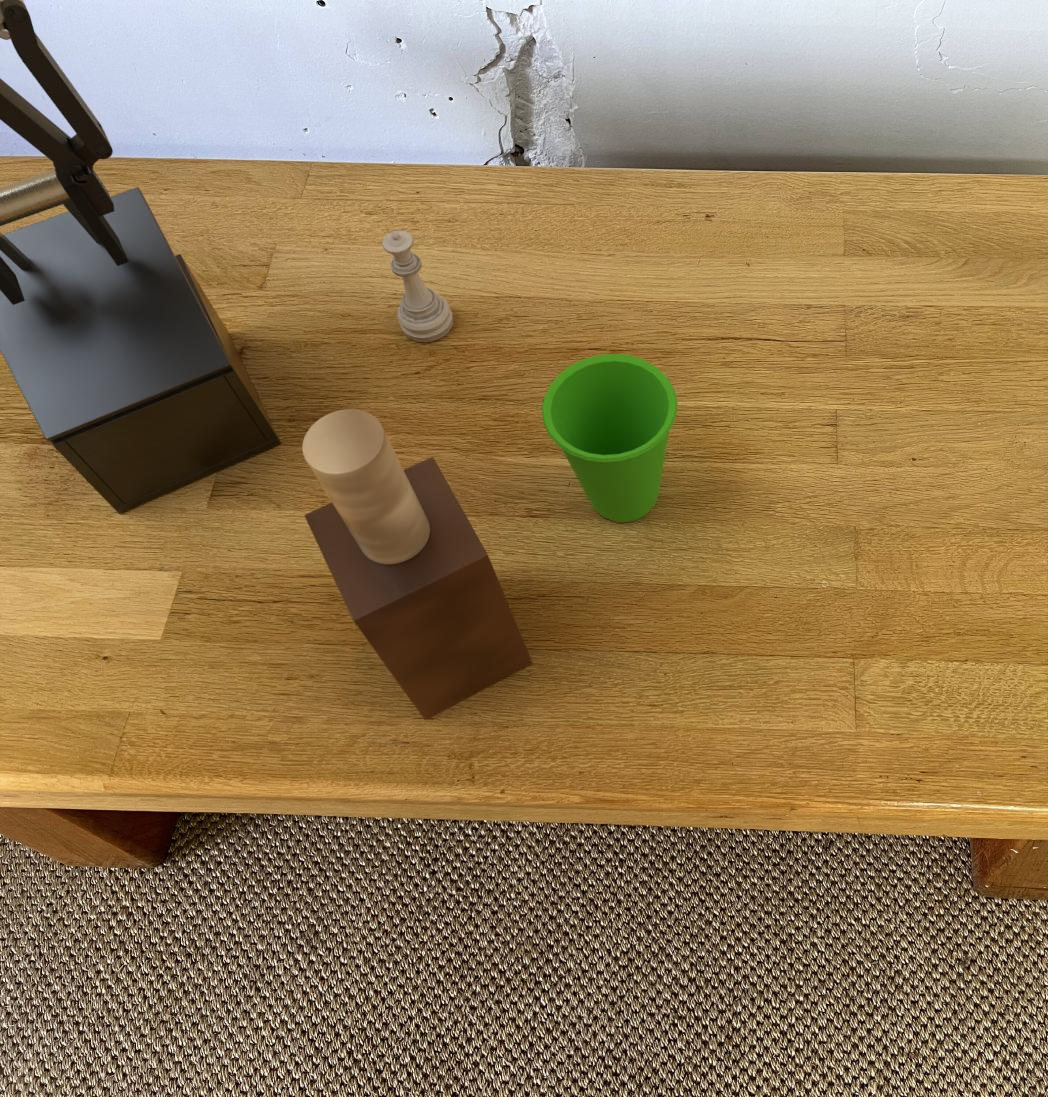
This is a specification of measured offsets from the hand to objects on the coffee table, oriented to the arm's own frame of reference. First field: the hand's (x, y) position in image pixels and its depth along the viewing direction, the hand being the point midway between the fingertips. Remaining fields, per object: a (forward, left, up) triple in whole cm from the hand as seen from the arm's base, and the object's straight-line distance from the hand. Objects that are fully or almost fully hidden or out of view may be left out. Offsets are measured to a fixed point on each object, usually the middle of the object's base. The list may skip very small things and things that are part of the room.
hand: (66, 270), depth 68 cm
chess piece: (+21, -2, -16) cm, 26 cm away
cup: (+27, -26, -16) cm, 40 cm away
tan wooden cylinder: (+11, -31, 0) cm, 33 cm away
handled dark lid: (0, -1, -3) cm, 4 cm away
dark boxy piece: (0, -1, -15) cm, 15 cm away
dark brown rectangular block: (+11, -31, -15) cm, 36 cm away
